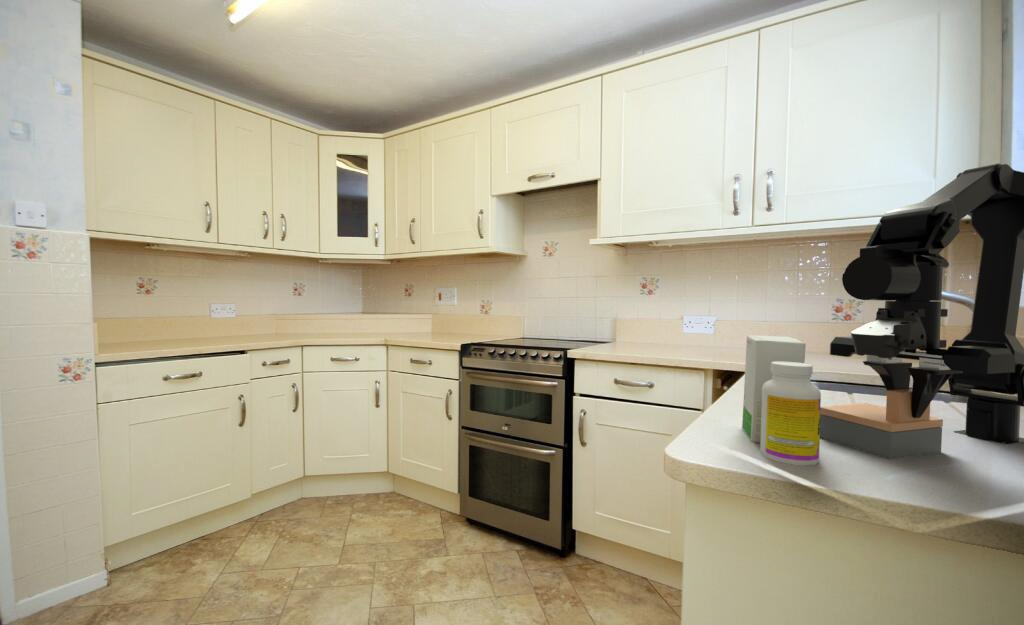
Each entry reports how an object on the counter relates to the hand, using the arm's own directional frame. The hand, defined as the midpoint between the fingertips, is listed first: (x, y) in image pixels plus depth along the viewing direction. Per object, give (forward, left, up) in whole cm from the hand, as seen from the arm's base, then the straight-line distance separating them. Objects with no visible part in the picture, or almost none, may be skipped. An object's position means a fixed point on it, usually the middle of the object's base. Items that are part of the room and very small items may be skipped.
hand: (907, 415), depth 62 cm
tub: (0, -4, -6) cm, 7 cm away
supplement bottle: (+17, -3, -6) cm, 18 cm away
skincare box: (+12, -11, -6) cm, 17 cm away
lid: (0, -4, -2) cm, 4 cm away
